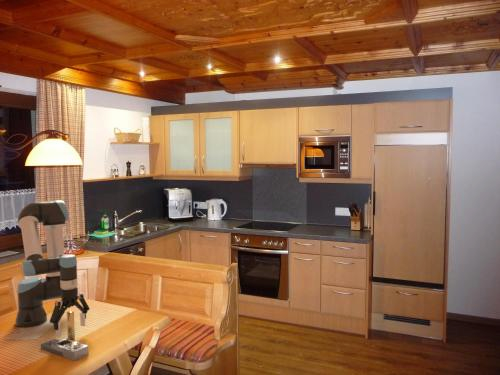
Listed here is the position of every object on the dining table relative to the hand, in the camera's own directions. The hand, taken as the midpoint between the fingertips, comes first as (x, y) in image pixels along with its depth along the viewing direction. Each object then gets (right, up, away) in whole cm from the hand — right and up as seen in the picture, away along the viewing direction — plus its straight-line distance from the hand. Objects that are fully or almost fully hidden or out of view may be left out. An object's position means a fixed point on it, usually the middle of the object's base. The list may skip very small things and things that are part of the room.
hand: (71, 330), depth 200 cm
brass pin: (0, -5, 0) cm, 5 cm away
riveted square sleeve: (+2, -6, -11) cm, 12 cm away
